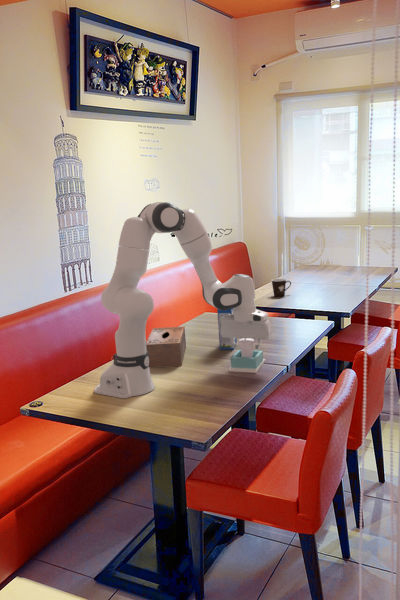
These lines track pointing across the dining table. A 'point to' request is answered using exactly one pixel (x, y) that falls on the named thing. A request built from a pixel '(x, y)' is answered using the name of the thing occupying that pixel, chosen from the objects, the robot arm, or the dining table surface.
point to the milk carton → (224, 341)
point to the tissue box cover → (166, 346)
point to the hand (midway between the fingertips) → (246, 348)
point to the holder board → (247, 362)
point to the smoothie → (246, 347)
